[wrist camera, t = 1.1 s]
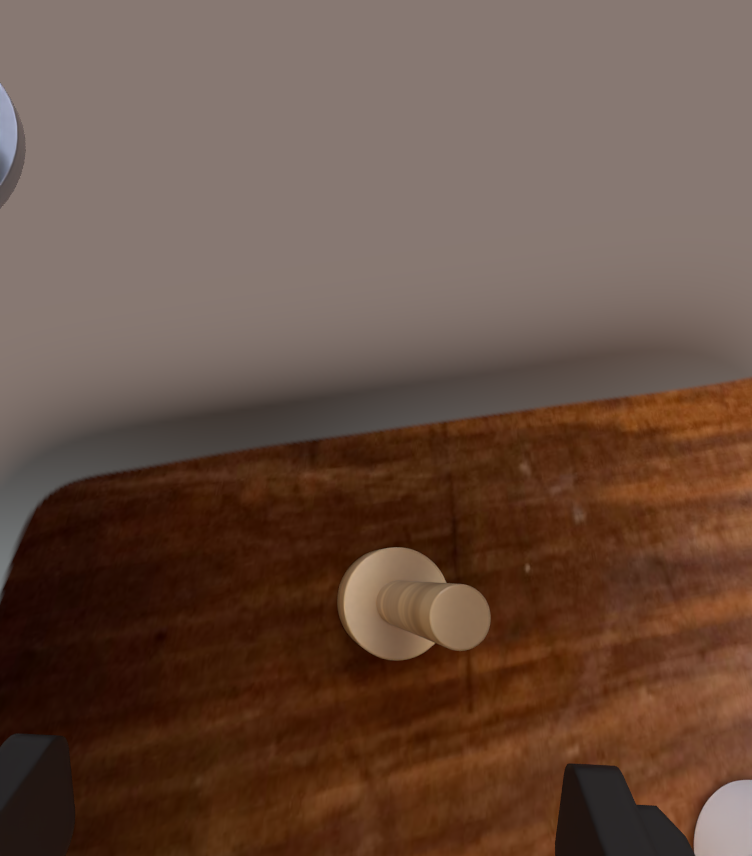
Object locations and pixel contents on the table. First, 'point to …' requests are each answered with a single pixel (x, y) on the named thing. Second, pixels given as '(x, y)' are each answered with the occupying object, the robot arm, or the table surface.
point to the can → (726, 822)
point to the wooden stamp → (408, 606)
